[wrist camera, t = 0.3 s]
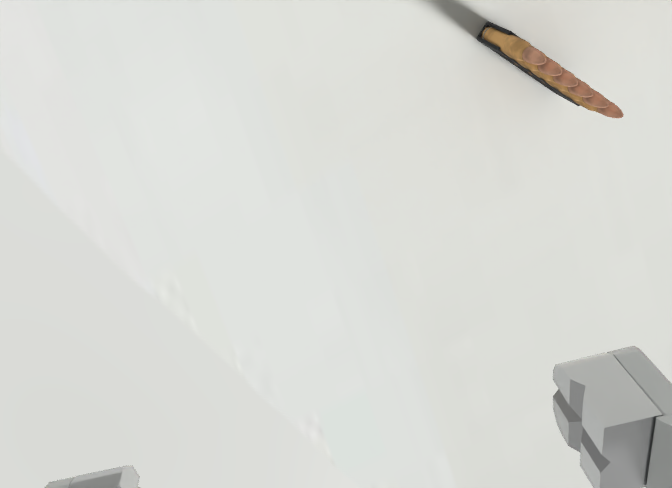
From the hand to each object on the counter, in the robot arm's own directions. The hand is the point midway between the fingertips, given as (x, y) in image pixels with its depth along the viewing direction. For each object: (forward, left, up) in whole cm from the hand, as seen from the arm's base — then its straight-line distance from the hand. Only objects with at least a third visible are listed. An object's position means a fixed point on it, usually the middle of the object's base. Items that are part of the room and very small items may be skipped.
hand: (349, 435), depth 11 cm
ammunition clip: (+8, +23, -47) cm, 53 cm away
